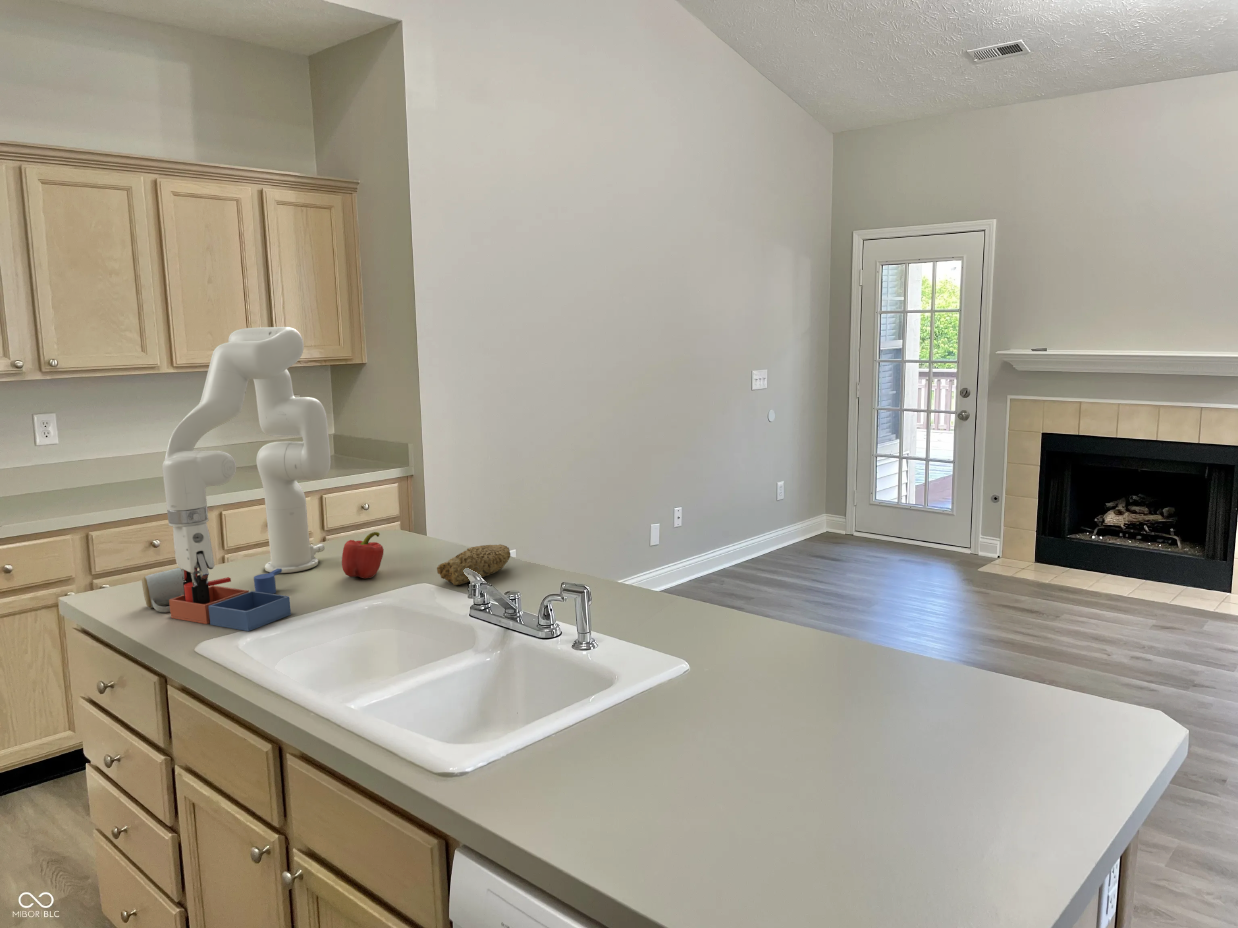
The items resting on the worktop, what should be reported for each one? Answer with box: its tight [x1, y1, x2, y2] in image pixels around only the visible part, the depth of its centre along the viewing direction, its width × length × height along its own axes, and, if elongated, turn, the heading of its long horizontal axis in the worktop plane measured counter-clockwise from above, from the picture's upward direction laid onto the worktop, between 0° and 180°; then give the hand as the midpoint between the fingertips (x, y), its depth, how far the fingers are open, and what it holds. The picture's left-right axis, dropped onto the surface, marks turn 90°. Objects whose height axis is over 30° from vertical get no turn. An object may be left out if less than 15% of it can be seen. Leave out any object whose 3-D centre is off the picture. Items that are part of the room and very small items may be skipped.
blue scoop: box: [253, 569, 282, 594], centre depth 209 cm, size 9×4×4 cm, turn 173°
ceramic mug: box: [141, 567, 186, 613], centre depth 198 cm, size 11×8×8 cm
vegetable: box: [341, 531, 385, 579], centre depth 217 cm, size 11×10×10 cm
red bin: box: [169, 585, 250, 625], centre depth 193 cm, size 11×11×4 cm
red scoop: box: [184, 576, 232, 602], centre depth 192 cm, size 9×4×4 cm, turn 133°
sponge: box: [436, 543, 511, 586], centre depth 214 cm, size 13×8×20 cm
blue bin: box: [208, 590, 292, 632], centre depth 187 cm, size 11×11×4 cm
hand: (197, 600), depth 191 cm, fingers closed on red scoop, 4 cm apart
